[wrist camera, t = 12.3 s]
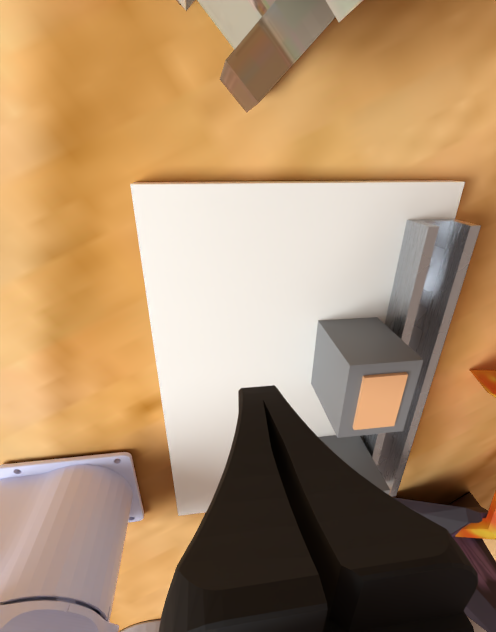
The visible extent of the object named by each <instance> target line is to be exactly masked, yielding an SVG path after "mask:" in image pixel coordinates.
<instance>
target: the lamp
mask: <svg viewBox="0 0 496 632" xmlns="http://www.w3.org/2000/svg"><path fill="white" fill-rule="evenodd" d="M160 621H161V620H152V621H146V622H142V623H138V624H135V625H132V626H129V627H127V628H125V629H123V630H121V631H120V632H159V627H160Z"/></svg>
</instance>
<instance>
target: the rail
mask: <svg viewBox="0 0 496 632" xmlns="http://www.w3.org/2000/svg"><path fill="white" fill-rule="evenodd" d="M480 227H481V225H477V224H473V223H469V222H465V221H462V220H458V219H420V220H407V222H406V227H405V231H404V236H403V241H402V245H401V250H400V255H399V259H398V264H397V269H396V273H395V278H394V283H393V288H392V292H391V297H390V302H389V306H388V311H387V316H386V320H385V325H386V326H387V327H388V328H389V329H391V330H392V331H393V332H394V333H395V334H396V335H397V336H398V337H399V338H400V339H401V340H402V341H404V342H405V343H406V344H407V345H408V346H409V347H410V348H411V349H412V350H413V351H414V352H415V353H416V354H418V355H419V356H420V357H421V358H422V359H423V363H422V367H421V370H420V374H419V377H418V380H417V384H416V387H415V391H414V394H413V398H412V401H411V405H410V408H409V411H408V415H407V418H406V422H405V425H404V429H403V431H399V432H390V433H380V434H371V435H361V439H362V441H363V443H364V444H365V446H366V448H367V450H368V451H369V453H370V455H371V457H372V458H373V460H374V462H375V464H376V465H377V467H378V469H379V471H380V472H381V474H382V476H383V478H384V479H385V481H386V483H387V485H388V487H389V488H390V493H389V495H390V496H391V497H392V496H396V495H397V491H398V488H399V485H400V482H401V479H402V475H403V472H404V469H405V466H406V463H407V460H408V456H409V453H410V450H411V447H412V444H413V440H414V437H415V434H416V431H417V428H418V425H419V421H420V418H421V415H422V412H423V409H424V405H425V402H426V399H427V396H428V393H429V390H430V386H431V383H432V380H433V377H434V374H435V370H436V367H437V364H438V361H439V358H440V355H441V351H442V348H443V345H444V342H445V339H446V335H447V332H448V329H449V326H450V323H451V320H452V316H453V313H454V310H455V307H456V304H457V300H458V297H459V294H460V291H461V288H462V284H463V281H464V278H465V275H466V272H467V269H468V265H469V262H470V259H471V256H472V253H473V249H474V246H475V243H476V240H477V237H478V234H479V230H480Z"/></svg>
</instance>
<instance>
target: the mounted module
mask: <svg viewBox="0 0 496 632" xmlns="http://www.w3.org/2000/svg"><path fill="white" fill-rule="evenodd" d="M319 438H320V439H321V440H322V441H323V442H324V443H325V444H326V445H327V446H328V447H329V448H330V449H331V450H332V451H333V452H334V453H335V454H336V455H337V456H339V457H340V458H341V459H342V460H343V461H344V462H346V463H347V464H348V465H349V466H350V467H352V468H353V469H354V470H355V471H356V472H358V473H359V474H360V475H362V476H363V477H364V478H366V479H367V480H369V481H370V482H371V483H373V484H374V485H375V486H377V487H378V488H380V489H381V490H382V491H384V492H385V493H387V494H388V495H389V493H390V488H389V487H388V485H387V483H386V481H385V479H384V478H383V476H382V474H381V472H380V471H379V469H378V467H377V465H376V464H375V462H374V460H373V458H372V457H371V455H370V453H369V451H368V450H367V448H366V446H365V444H364V443H363V441H362V439H361V437H360V436H352V437H342V438H337V436H336V435H331V436H322V437H319Z"/></svg>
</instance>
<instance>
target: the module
mask: <svg viewBox="0 0 496 632" xmlns="http://www.w3.org/2000/svg"><path fill="white" fill-rule="evenodd" d="M422 363H423V359H422V358H421V357H420V356H419V355H418V354H416V353H415V352H414V351H413V350H412V349H411V348H410V347H409V346H408V345H407V344H406V343H405V342H404V341H402V340H401V339H400V338H399V337H398V336H397V335H396V334H395V333H394V332H393V331H392V330H391V329H389V328H388V327H387V326H386V325H385V324H384V323H383V322H382V321H381V320H380V319H379V318H378V317H369V318H353V319H336V320H319V321H318V325H317V334H316V343H315V352H314V361H313V370H312V379H311V385H312V387H313V389H314V391H315V393H316V395H317V397H318V399H319V401H320V403H321V405H322V407H323V409H324V411H325V413H326V415H327V417H328V419H329V422H330V424H331V426H332V428H333V430H334V432H335V434H336V436H337V438H342V437H352V436H361V435H371V434H380V433H390V432H399V431H403V429H404V425H405V422H406V418H407V415H408V411H409V408H410V405H411V401H412V398H413V394H414V391H415V387H416V384H417V380H418V377H419V374H420V370H421V367H422Z"/></svg>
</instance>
